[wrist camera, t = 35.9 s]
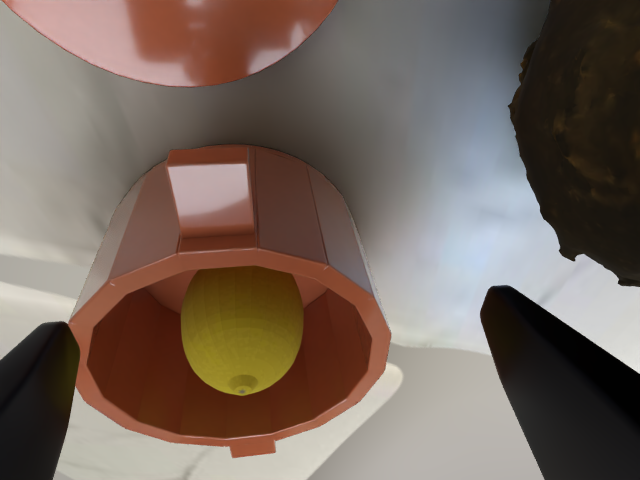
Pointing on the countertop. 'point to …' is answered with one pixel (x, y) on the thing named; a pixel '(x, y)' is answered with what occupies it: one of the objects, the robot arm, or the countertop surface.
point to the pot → (219, 252)
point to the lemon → (241, 327)
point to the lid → (177, 35)
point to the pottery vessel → (585, 129)
